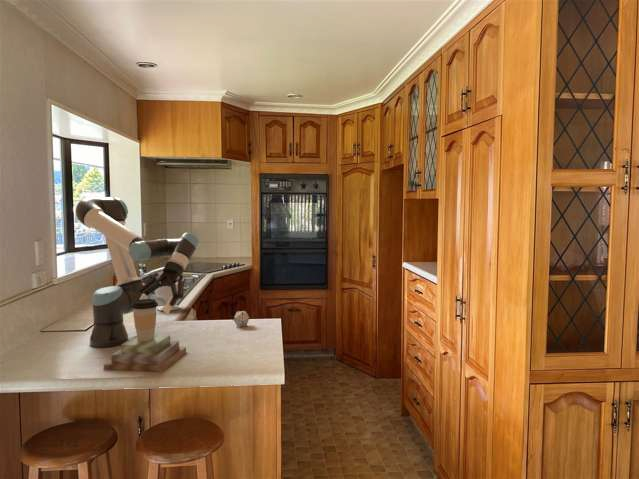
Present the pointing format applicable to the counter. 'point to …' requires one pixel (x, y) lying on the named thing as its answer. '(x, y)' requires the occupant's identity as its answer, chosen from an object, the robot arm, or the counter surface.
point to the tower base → (146, 366)
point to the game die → (241, 318)
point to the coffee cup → (145, 319)
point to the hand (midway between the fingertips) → (151, 311)
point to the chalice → (166, 295)
